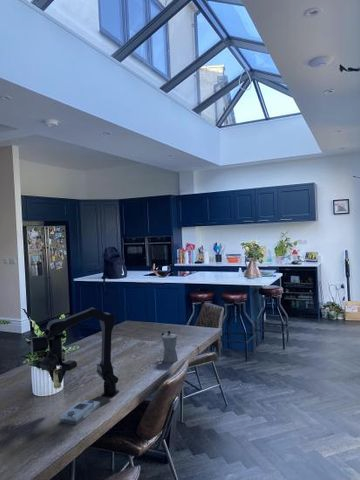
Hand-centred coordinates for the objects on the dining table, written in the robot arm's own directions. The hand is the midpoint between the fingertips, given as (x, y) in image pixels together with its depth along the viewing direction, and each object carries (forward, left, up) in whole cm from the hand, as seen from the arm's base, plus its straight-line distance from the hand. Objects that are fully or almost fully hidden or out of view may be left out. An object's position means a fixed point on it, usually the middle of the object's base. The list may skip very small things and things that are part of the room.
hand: (57, 382), depth 171 cm
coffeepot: (-72, +25, -12) cm, 77 cm away
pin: (0, 0, -2) cm, 2 cm away
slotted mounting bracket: (+1, +13, -12) cm, 18 cm away
